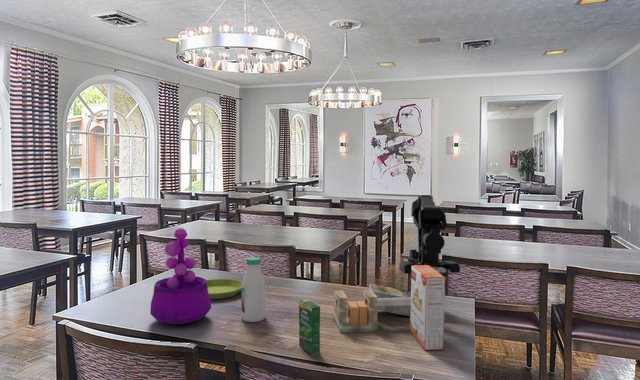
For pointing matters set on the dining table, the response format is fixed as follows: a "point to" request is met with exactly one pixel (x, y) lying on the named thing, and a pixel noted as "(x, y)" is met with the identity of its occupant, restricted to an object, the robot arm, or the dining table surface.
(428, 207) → the robot arm
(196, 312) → the decorative plant
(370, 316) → the frame
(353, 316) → the block
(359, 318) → the block
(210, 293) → the saucer
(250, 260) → the milk bottle
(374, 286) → the coffee box
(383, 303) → the shaft
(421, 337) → the cracker box
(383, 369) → the dining table surface
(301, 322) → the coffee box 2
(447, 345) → the dining table surface
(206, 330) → the dining table surface
